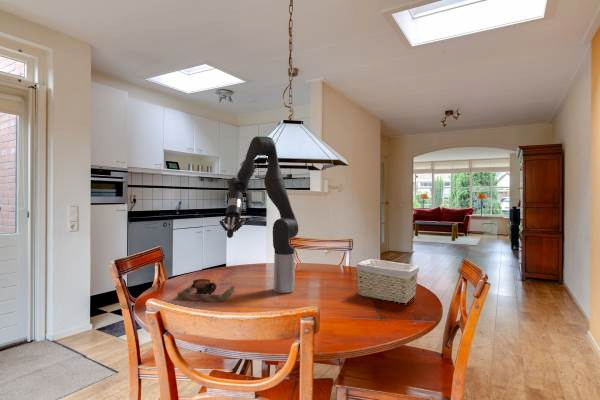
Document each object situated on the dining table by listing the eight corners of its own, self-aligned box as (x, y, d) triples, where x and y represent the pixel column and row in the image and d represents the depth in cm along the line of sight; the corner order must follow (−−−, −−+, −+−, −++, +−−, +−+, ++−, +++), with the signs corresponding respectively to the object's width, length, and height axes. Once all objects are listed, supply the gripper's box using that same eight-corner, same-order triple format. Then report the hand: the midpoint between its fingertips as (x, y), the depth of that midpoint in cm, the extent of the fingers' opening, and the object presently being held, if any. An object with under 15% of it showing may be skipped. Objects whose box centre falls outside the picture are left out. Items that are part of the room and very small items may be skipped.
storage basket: (419, 297, 152) (420, 264, 152) (408, 307, 139) (409, 270, 138) (368, 288, 165) (369, 258, 165) (354, 296, 152) (355, 263, 152)
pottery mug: (185, 299, 142) (186, 280, 146) (198, 303, 150) (198, 285, 154) (211, 294, 140) (211, 275, 144) (222, 299, 148) (222, 280, 152)
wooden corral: (234, 291, 154) (234, 285, 154) (222, 302, 138) (222, 296, 138) (193, 288, 156) (194, 283, 156) (177, 299, 140) (177, 293, 140)
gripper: (219, 205, 174) (214, 233, 163) (245, 203, 173) (241, 232, 162) (223, 214, 180) (218, 241, 169) (248, 212, 179) (244, 240, 168)
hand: (229, 237), depth 166 cm, fingers closed
